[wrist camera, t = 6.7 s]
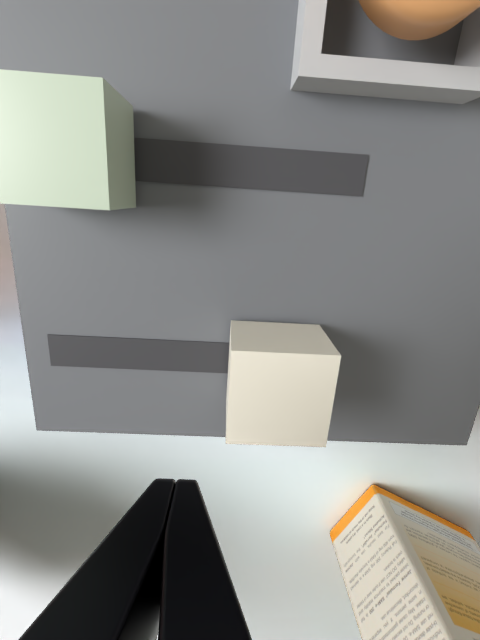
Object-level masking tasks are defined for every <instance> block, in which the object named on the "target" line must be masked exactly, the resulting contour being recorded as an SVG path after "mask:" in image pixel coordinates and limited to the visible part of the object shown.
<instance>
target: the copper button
mask: <svg viewBox="0 0 480 640" xmlns="http://www.w3.org/2000/svg"><path fill="white" fill-rule="evenodd" d="M358 1H359V3H360V5H361V7H362V9H363V11H364V12H365V13H366V15H367V16H368V18H369V19H370V20H371V21H372V22H373V23H374V24H375V25H376V26H377V27H378V28H380V29H381V30H382V31H383V32H385V33H387V34H389V35H391V36H393V37H396V38H399V39H404V40H424V39H429V38H432V37H435V36H438V35H440V34H442V33H444V32H446V31H448V30H449V29H451V28H452V27H454V26H455V25H457V24H458V23H459V22H460V21H462V20H463V19H464V18H466V17H467V16H468V15H470V14H471V13H472V12H474V11H475V10H476V9H478V8H479V7H480V0H358Z"/></svg>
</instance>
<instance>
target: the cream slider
mask: <svg viewBox="0 0 480 640" xmlns="http://www.w3.org/2000/svg"><path fill="white" fill-rule="evenodd" d="M340 360H341V355H340V353H339V352H338V350H337V349H336V347H335V346H334V345H333V343H332V342H331V340H330V339H329V338H328V336H327V335H326V333H325V332H324V331H323V329H322V328H321V326H320V325H315V324H295V323H275V322H255V321H235V320H231V327H230V344H229V361H228V379H227V396H226V444H248V445H278V446H307V447H326V443H327V437H328V431H329V426H330V420H331V414H332V408H333V402H334V396H335V390H336V384H337V378H338V372H339V366H340Z"/></svg>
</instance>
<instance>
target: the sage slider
mask: <svg viewBox="0 0 480 640" xmlns="http://www.w3.org/2000/svg"><path fill="white" fill-rule="evenodd" d="M0 203H2V204H17V205H33V206H49V207H65V208H80V209H96V210H118V209H127V208H136V188H135V155H134V121H133V106H132V105H131V104H130V103H129V102H128V101H127V100H126V99H125V98H124V97H123V96H122V95H121V94H119V93H118V92H117V91H116V90H115V89H114V88H113V87H112V86H111V85H110V84H109V83H108V82H107V81H106V80H105V79H104V78H102V77H89V76H77V75H65V74H52V73H40V72H27V71H15V70H3V69H0Z"/></svg>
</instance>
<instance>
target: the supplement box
mask: <svg viewBox="0 0 480 640" xmlns="http://www.w3.org/2000/svg"><path fill="white" fill-rule="evenodd" d="M330 536H331V539H332V543H333V546H334V549H335V553H336V556H337V559H338V562H339V566H340V569H341V572H342V575H343V579H344V582H345V586H346V589H347V592H348V595H349V598H350V601H351V604H352V608H353V611H354V615H355V618H356V621H357V625H358V628H359V631H360V634H361V638H362V640H480V547H479V545H478V544H477V543H476V541H475V540H474V538H473V537H472V535H471V534H470V533H469V532H468V531H467V530H465V529H463V528H462V527H459V526H457V525H455V524H453V523H451V522H449V521H447V520H445V519H443V518H441V517H439V516H437V515H435V514H433V513H431V512H429V511H427V510H425V509H423V508H421V507H419V506H417V505H415V504H413V503H410V502H408V501H406V500H404V499H402V498H400V497H398V496H396V495H395V494H393V493H390V492H388V491H386V490H384V489H383V488H380V487H378V486H376V485H371V486H370V487H369V489H368V490H367V491H366V492H365V493H364V494H363V495H362V496H361V497H360V498H359V499H358V500H357V502H355V503H354V505H353V506H352V507H351V508H350V509H349V510H348V512H347V513H346V514H345V515H344V516H343V517H342V518H341V520H340V521H339V522H338V523H337V524H336V525H335V526H334V527H333V528H332V530H331V531H330Z"/></svg>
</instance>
